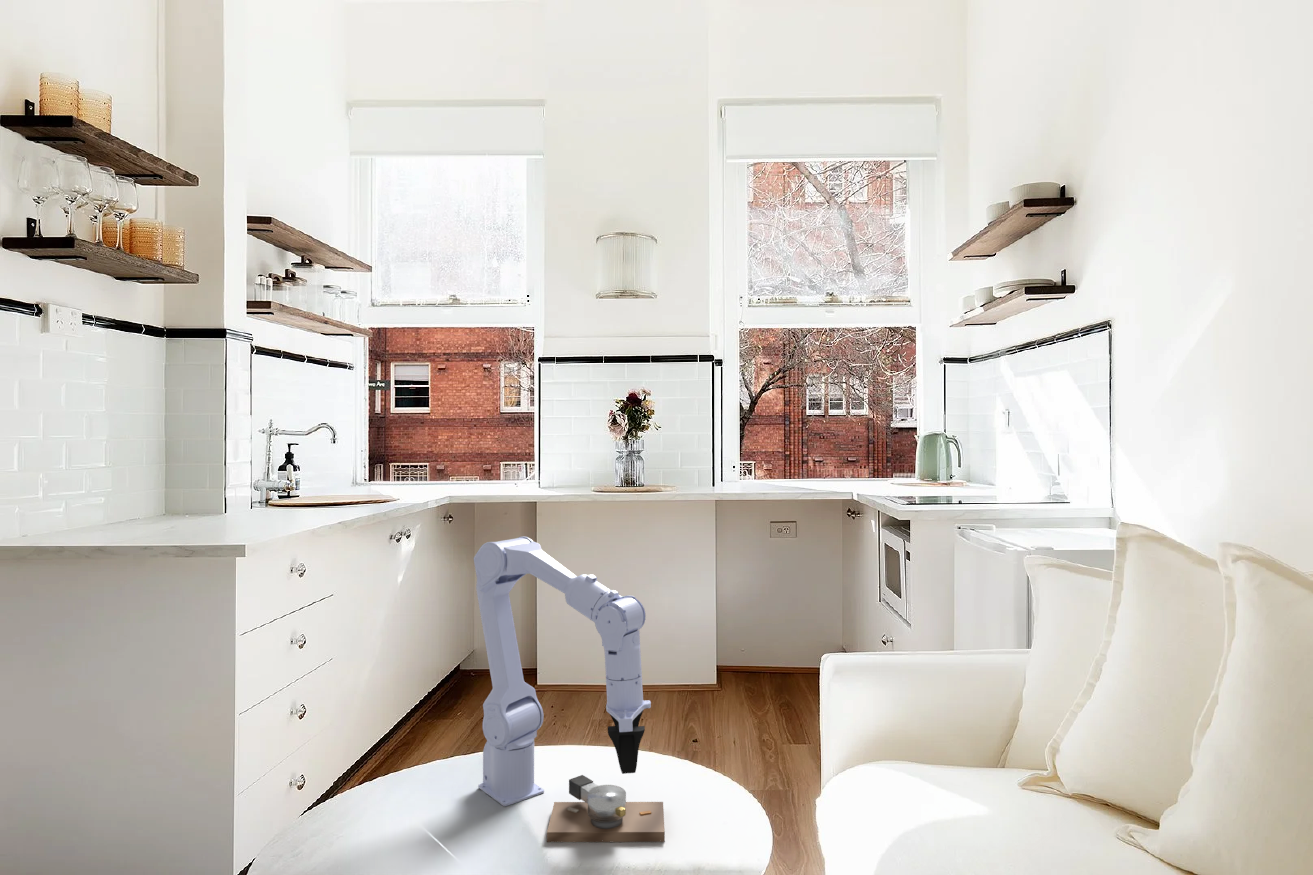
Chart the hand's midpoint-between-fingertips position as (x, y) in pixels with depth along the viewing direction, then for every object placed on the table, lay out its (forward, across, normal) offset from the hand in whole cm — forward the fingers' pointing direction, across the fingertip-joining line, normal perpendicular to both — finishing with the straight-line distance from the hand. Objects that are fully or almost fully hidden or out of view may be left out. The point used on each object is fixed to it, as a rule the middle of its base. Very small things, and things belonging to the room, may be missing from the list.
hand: (628, 762), depth 120 cm
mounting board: (+10, +2, +4) cm, 11 cm away
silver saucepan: (+7, +2, +5) cm, 9 cm away
